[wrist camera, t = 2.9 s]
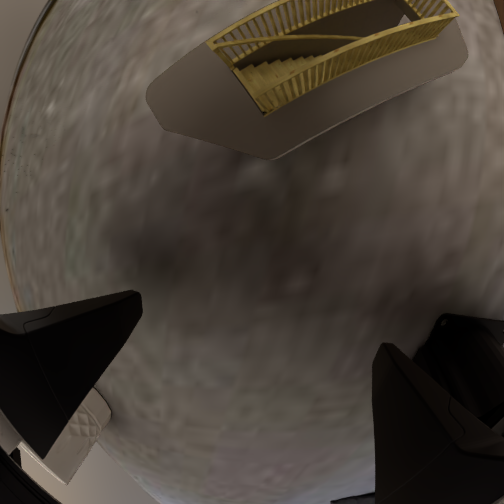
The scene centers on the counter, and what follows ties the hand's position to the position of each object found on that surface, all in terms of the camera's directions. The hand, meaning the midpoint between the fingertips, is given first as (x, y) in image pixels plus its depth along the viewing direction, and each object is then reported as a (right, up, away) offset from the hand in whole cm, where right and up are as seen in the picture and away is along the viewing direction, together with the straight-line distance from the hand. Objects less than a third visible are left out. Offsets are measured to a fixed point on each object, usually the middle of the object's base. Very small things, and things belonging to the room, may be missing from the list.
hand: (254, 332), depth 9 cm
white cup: (-17, -12, +12) cm, 24 cm away
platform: (+3, +9, +1) cm, 10 cm away
